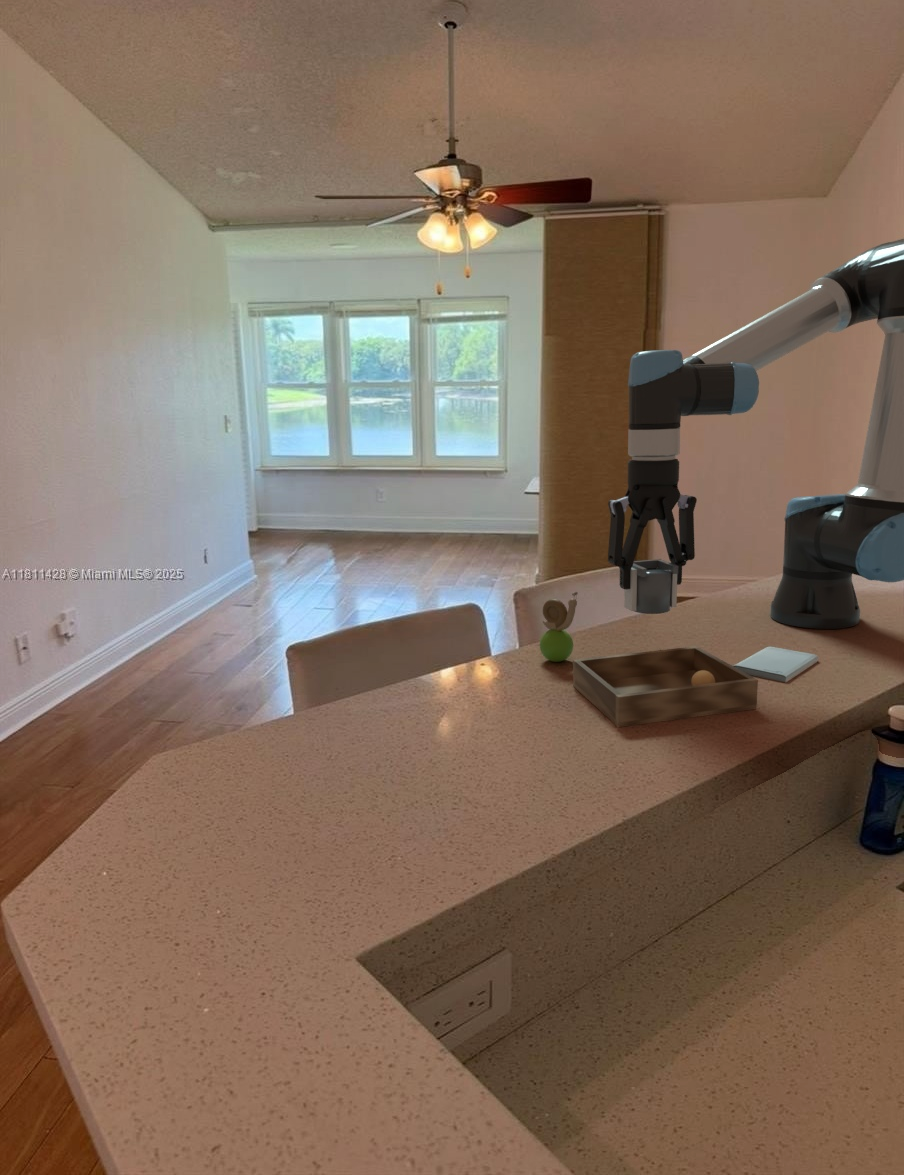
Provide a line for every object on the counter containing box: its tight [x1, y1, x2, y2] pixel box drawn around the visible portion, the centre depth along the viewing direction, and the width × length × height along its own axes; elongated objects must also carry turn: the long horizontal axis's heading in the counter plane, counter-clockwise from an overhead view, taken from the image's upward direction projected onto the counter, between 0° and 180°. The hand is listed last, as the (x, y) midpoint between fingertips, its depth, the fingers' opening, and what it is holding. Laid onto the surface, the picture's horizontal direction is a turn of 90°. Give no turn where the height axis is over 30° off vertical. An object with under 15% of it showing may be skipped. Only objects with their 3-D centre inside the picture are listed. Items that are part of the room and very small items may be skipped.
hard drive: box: [732, 646, 819, 683], centre depth 123 cm, size 2×8×12 cm
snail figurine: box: [539, 591, 578, 663], centre depth 128 cm, size 5×6×12 cm
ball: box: [691, 670, 715, 686], centre depth 111 cm, size 3×3×3 cm
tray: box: [572, 645, 759, 728], centre depth 112 cm, size 20×16×4 cm
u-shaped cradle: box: [632, 558, 678, 615], centre depth 123 cm, size 6×6×7 cm
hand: (650, 606), depth 124 cm, fingers closed on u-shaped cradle, 6 cm apart
